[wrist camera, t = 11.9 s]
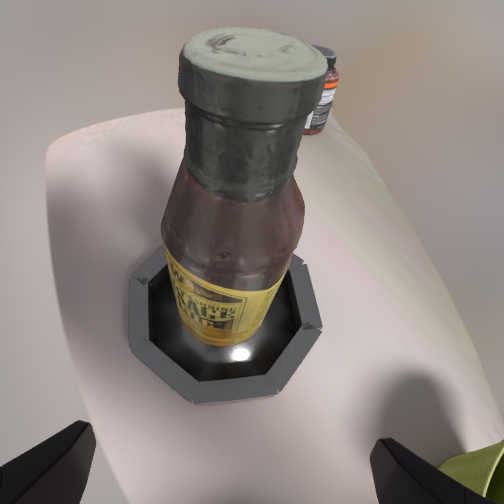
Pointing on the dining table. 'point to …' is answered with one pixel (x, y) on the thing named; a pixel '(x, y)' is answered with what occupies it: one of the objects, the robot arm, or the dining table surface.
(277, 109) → the sauce bottle
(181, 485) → the dining table surface
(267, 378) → the dark grey octagonal tray
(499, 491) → the plant pot
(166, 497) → the dining table surface
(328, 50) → the supplement bottle
